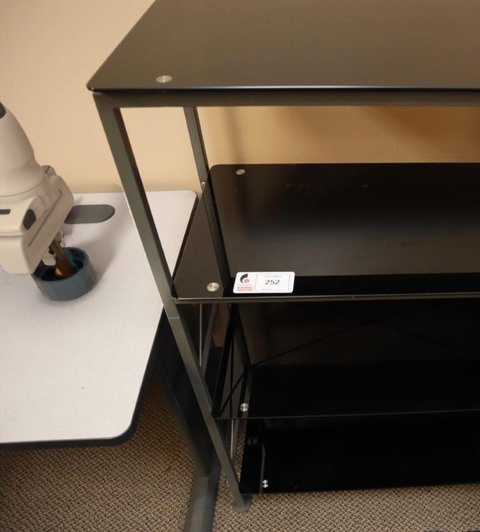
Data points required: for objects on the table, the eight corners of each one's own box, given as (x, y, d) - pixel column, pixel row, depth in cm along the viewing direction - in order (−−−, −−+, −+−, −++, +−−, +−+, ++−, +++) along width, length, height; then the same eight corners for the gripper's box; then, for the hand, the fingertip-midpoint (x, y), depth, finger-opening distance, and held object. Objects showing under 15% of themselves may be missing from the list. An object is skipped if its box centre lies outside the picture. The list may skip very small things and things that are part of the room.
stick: (65, 286, 98) (24, 225, 87) (71, 277, 100) (32, 216, 89) (77, 286, 98) (38, 226, 87) (83, 277, 99) (46, 217, 89)
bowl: (33, 303, 95) (20, 283, 91) (54, 266, 102) (42, 246, 98) (88, 303, 96) (77, 283, 92) (105, 266, 103) (95, 246, 99)
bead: (58, 280, 99) (50, 270, 98) (69, 273, 101) (61, 263, 100) (63, 280, 98) (55, 270, 97) (74, 273, 99) (66, 263, 98)
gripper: (28, 159, 91) (59, 219, 101) (-30, 235, 76) (12, 296, 86) (66, 159, 92) (93, 219, 101) (15, 235, 77) (52, 296, 87)
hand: (56, 255), depth 94 cm, fingers closed on stick, 2 cm apart
